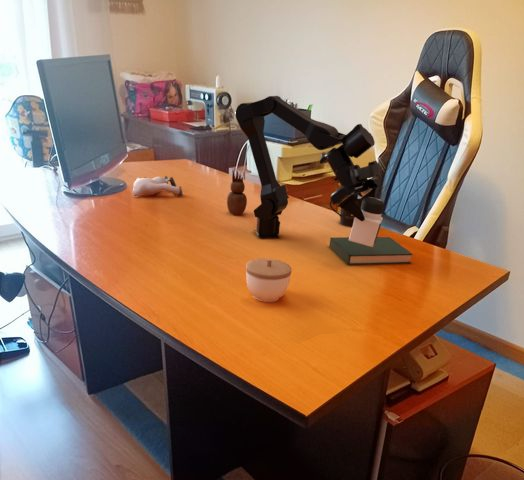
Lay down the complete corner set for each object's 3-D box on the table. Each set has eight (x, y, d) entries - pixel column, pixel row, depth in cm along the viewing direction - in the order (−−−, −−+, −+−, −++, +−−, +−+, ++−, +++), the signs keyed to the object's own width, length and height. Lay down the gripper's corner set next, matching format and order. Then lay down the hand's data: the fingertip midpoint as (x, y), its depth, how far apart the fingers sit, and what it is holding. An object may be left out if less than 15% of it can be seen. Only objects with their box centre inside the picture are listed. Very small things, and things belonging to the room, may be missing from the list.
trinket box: (267, 284, 132) (270, 248, 127) (297, 299, 125) (301, 262, 120) (235, 294, 125) (236, 257, 120) (265, 310, 119) (268, 272, 114)
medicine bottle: (373, 247, 144) (386, 204, 138) (348, 240, 145) (360, 198, 139) (375, 241, 150) (388, 200, 144) (351, 234, 151) (363, 193, 145)
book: (347, 265, 148) (349, 255, 146) (329, 246, 160) (330, 237, 158) (410, 263, 153) (412, 253, 151) (387, 245, 165) (389, 236, 164)
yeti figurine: (157, 188, 211) (115, 194, 197) (156, 171, 208) (113, 176, 194) (189, 195, 200) (148, 202, 186) (189, 177, 197) (146, 182, 183)
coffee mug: (363, 222, 185) (368, 194, 180) (359, 229, 178) (364, 200, 173) (331, 217, 188) (335, 189, 183) (326, 223, 181) (330, 194, 176)
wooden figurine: (224, 214, 181) (225, 169, 174) (230, 210, 186) (232, 167, 179) (241, 217, 180) (244, 173, 172) (248, 213, 184) (250, 170, 177)
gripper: (347, 153, 131) (377, 207, 131) (381, 147, 144) (409, 196, 144) (317, 179, 139) (345, 229, 139) (352, 171, 152) (378, 217, 152)
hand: (371, 217), depth 143 cm, fingers closed on medicine bottle, 8 cm apart
